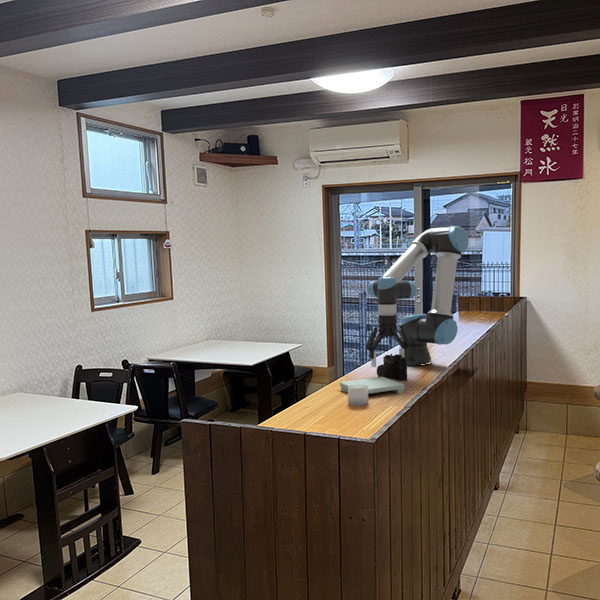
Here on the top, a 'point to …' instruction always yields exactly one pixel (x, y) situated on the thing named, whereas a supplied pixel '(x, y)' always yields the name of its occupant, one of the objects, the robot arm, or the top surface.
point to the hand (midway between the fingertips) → (387, 365)
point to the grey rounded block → (358, 395)
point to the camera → (393, 368)
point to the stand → (375, 385)
